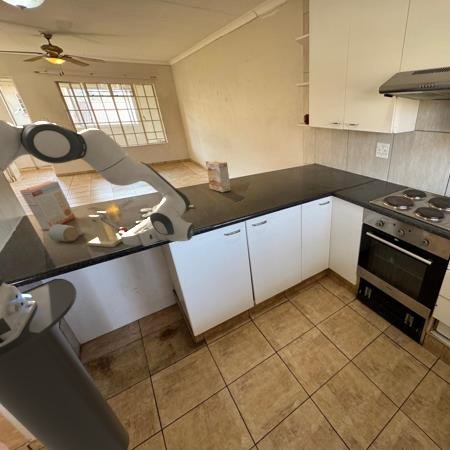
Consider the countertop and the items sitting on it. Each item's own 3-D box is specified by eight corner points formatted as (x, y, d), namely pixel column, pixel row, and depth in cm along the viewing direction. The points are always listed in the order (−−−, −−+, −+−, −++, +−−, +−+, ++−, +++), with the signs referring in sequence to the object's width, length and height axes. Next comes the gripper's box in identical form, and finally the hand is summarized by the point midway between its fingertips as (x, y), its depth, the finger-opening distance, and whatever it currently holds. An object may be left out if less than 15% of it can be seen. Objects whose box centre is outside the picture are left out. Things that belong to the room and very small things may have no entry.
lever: (128, 234, 112) (130, 228, 110) (122, 238, 109) (124, 232, 107) (99, 216, 109) (100, 211, 108) (91, 220, 106) (93, 214, 105)
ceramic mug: (68, 245, 110) (60, 229, 106) (52, 243, 111) (44, 228, 107) (89, 233, 119) (83, 219, 116) (74, 232, 120) (67, 218, 117)
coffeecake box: (209, 188, 176) (205, 161, 168) (218, 186, 181) (214, 159, 173) (222, 192, 168) (218, 163, 160) (231, 190, 173) (227, 161, 165)
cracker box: (65, 217, 135) (47, 180, 125) (76, 217, 135) (58, 180, 125) (40, 229, 123) (18, 190, 113) (52, 230, 122) (30, 190, 113)
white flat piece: (198, 204, 150) (198, 202, 150) (153, 222, 130) (152, 219, 129) (178, 197, 161) (178, 195, 160) (133, 212, 140) (132, 210, 140)
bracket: (128, 236, 116) (118, 210, 110) (113, 247, 108) (101, 219, 102) (105, 235, 117) (94, 209, 111) (89, 245, 110) (75, 217, 103)
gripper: (169, 213, 114) (142, 211, 116) (139, 235, 96) (107, 233, 98) (173, 225, 117) (146, 223, 119) (143, 248, 99) (112, 246, 101)
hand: (128, 228), depth 108 cm, fingers open, 8 cm apart
